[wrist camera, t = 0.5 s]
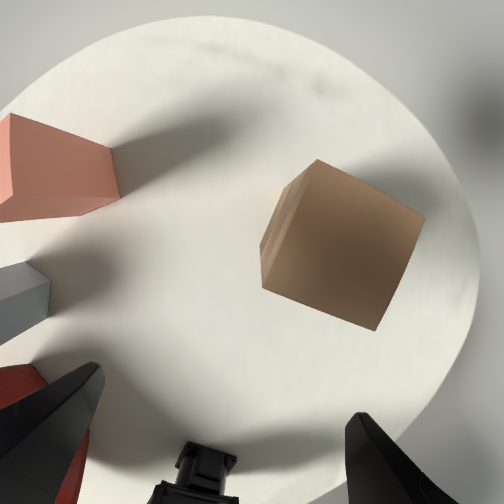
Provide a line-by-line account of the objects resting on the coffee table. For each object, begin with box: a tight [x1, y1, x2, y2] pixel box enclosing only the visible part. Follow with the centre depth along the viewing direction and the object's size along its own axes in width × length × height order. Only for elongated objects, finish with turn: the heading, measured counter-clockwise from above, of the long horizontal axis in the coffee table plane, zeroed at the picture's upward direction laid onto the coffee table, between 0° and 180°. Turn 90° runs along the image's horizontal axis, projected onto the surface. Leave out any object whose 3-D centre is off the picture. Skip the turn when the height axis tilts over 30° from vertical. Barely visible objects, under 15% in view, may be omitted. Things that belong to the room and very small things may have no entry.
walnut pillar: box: [260, 159, 425, 331], centre depth 16 cm, size 5×5×13 cm
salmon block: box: [0, 113, 121, 223], centre depth 16 cm, size 5×5×13 cm
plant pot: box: [0, 364, 89, 504], centre depth 19 cm, size 19×19×17 cm
